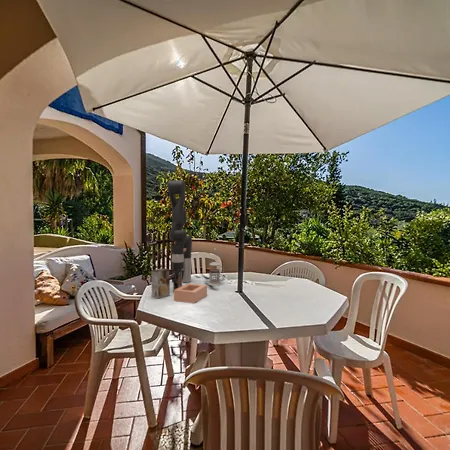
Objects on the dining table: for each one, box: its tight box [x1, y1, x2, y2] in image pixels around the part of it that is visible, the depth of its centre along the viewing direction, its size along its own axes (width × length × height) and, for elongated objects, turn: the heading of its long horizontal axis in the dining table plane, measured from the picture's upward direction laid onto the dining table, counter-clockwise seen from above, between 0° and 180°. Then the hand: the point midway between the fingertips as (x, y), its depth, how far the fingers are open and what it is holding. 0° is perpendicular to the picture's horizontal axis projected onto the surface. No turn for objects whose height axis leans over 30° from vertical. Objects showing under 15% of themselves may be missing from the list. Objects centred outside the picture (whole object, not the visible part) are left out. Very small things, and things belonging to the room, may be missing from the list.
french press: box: [207, 247, 225, 286], centre depth 223 cm, size 10×12×25 cm
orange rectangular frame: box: [173, 282, 208, 304], centre depth 187 cm, size 18×13×6 cm
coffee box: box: [150, 267, 171, 299], centre depth 189 cm, size 9×6×16 cm
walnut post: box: [172, 275, 183, 293], centre depth 201 cm, size 4×4×10 cm
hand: (177, 287), depth 201 cm, fingers closed on walnut post, 4 cm apart
